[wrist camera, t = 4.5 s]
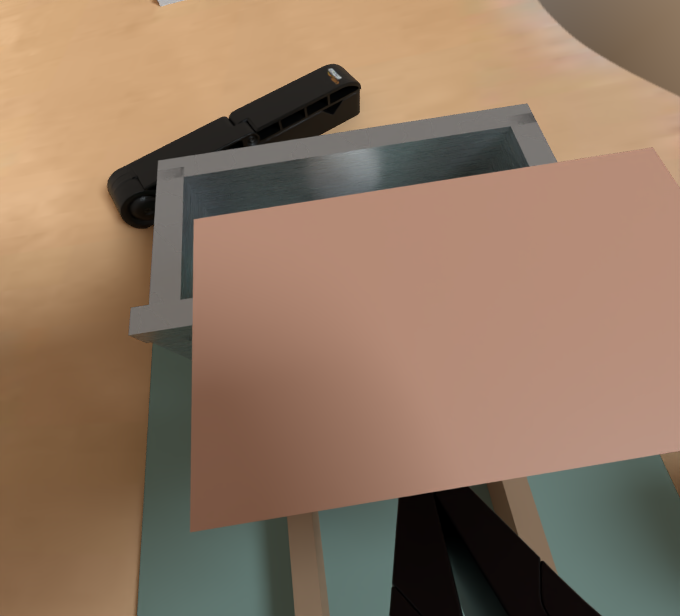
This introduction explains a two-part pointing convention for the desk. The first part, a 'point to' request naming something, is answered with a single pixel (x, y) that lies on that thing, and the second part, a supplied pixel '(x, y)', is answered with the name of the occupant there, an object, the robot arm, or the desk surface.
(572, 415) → the salmon orange block
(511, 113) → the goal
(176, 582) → the plate
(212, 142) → the portable electronic device stand
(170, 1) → the hard drive
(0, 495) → the desk surface
